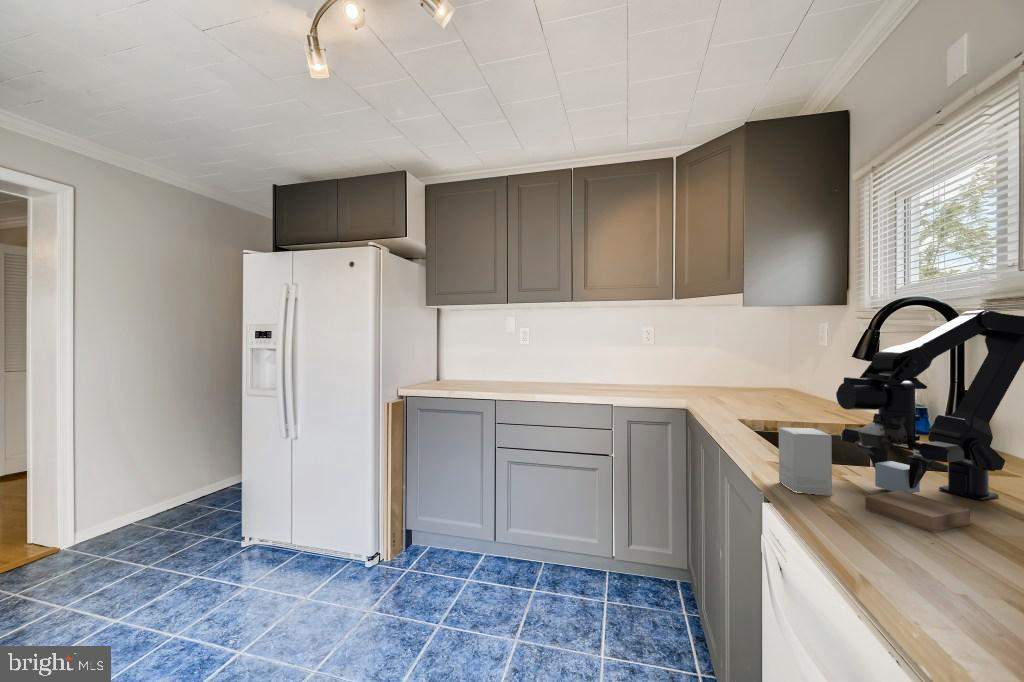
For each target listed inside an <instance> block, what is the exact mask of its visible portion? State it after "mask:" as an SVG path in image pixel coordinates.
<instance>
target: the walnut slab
mask: <svg viewBox="0 0 1024 682" xmlns="http://www.w3.org/2000/svg"><path fill="white" fill-rule="evenodd" d="M864 497H865V500H864V502H865V510H866V511H870V512H872V513H876V514H877V515H881V516H884V517H887V518H890V519H893V520H896V521H899V522H902V523H904V524H907V525H910V526H912V527H916V528H919V529H922V530H924V531H928V532H931V533H936V532H941V531H944V530H945V531H946V530H949V529H955V528H959V527H964V526H968V525H971V510H970V509H969V508H964V507H961V506H958V505H954V504H951V503H948V502H944V501H941V500H936V499H934V498H933V499H932V498H929V497H926V496H923V495H919V494H916V493H909V492H906V491H902V490H899V491H888V492H882V493H875V494H868V495H865V496H864Z"/></svg>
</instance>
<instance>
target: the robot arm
mask: <svg viewBox="0 0 1024 682" xmlns="http://www.w3.org/2000/svg"><path fill="white" fill-rule="evenodd" d="M976 336H981V337H985V338H984V343H985V345H986V346H985V347H986V349H987V355H986V356H985V358H984V359H983V362H982V364H980V367H979V369H978V371H977V372H976V374H975V375H974V378H973V380H972V381H971V383H970V385H969V387H968V388H967V390H966V392H965V394H964V396H963V398H962V399H961V401H960V403H959V405H958V407H957V408H956V410H955V411H954V412H953V413H951V414H950V415H942V414H938V415H937V416H935V418H934V421H933V423H932V426H931V427H930V428H929V429H927V432H929V434H928V441H927V442H919V441H921V436H920V435H918V434H916V433H917V432H916V431H917V429H916V427H917V425H916V424H917V423H916V422H919V421H920V420H921V417H920V415H916V390H927V389H928V386H927V385H926V384H925V383H923V382H922V381H920V380H919V378H917V377H919V375H921V374H923V372H925V371H926V370H927V369H929V368H930V366H931V364H932V362H933V360H934V359H936V358H937V357H938V356H940V355H942V354H944V353H946V352H948V351H950V350H951V349H954V348H955V347H957V346H959V345H961V344H963V343H965V342H967V341H968V340H970V339H973V338H974V337H976ZM1023 363H1024V315H1018V314H1009V313H1001V312H997V311H994V310H987V309H985V310H984V309H981V310H980V309H979V310H969V311H964V312H962V313H960V314H959V315H958V316H957V317H955V318H953V319H952V320H950V321H948V322H947V323H945V324H942V325H941V326H939V327H937V328H935V329H934V330H931V331H929V332H928V333H926V334H924V335H922V336H920V337H919V338H917V339H915V340H913V341H911V342H907V343H904V344H900V345H899V344H898V345H895V346H891V347H887V348H885V349H883V350H879V351H878V352H876V353H875V354H874V355H873V356H872V361H871V362H870V364H869V365H868V366H867V368H866V369H865V370H864V371H863V373H862V374H861V375H860V377H859V378H858V377H849V376H848V377H843V382H842V383H841V384H840V385H839V386H838V388H837V391H836V393H835V396H836V400H837V403H838V405H839V406H840V407H841V408H842V409H844V410H847V411H848V410H850V411H851V410H852V411H853V410H856V411H858V410H859V411H860V410H861V411H862V410H865V411H867V410H868V411H869V410H871V411H872V410H873V411H875V410H877V411H878V413H877V412H875V413H874V414H873V418H872V419H873V420H872V422H871V423H867V424H865V425H864V426H863V427H856V426H855V427H847V428H844V429H843V430H842V431H841V434H840V438H841V441H843V442H845V443H846V442H847V443H849V444H850V443H851V444H856V447H857V448H858V449H860V450H862V451H864V452H865V453H866V455H868V458H869V459H870V461H871V463H872V466H873V467H874V469H875V463H879V462H887V461H889V460H888V458H889V449H890V448H891V447H893V448H898V449H901V450H907V451H908V450H909V451H912V455H906V456H905V457H906V459H907V461H908V463H909V465H910V469H909V485H910V488H912V489H914V488H916V486H917V485H918V483H919V482H920V483H921V480H922V479H923V477H924V476H925V474H926V472H927V471H928V470H929V469H930V467H931V466H932V465H933V464H934V463H935V462H940V463H947V485H944V486H938V490H939V491H943V492H947V493H951V494H955V495H958V496H963V497H966V498H970V499H972V500H973V499H974V500H978V501H983V500H989V499H993V498H994V499H995V498H998V497H999V494H998V493H995V492H991V491H990V472H996V471H1002V470H1003V468H1004V466H1005V463H1006V460H1005V459H1004V458H1003V456H1001V455H1000V454H999V453H998V452H997V451H996V450H995V449H993V447H992V446H991V445H992V442H993V440H994V436H993V432H992V429H991V425H990V423H991V420H992V418H993V417H994V414H995V413H996V411H997V409H998V407H999V405H1000V404H1001V402H1002V400H1003V398H1004V397H1005V395H1006V394H1007V391H1008V390H1009V388H1010V386H1011V384H1012V382H1013V381H1014V379H1015V377H1016V375H1017V374H1018V372H1019V371H1020V368H1021V366H1023V365H1022V364H1023ZM857 443H858V444H857Z"/></svg>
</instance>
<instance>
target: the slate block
mask: <svg viewBox="0 0 1024 682" xmlns="http://www.w3.org/2000/svg"><path fill="white" fill-rule="evenodd" d="M909 469H910V464H906V463H901V462H897V461H893V460H888V461H887V462H879V463H875V468H874V471H875V472H874V475H875V477H874V483H875V484H874V485H875V486H874V487H876V488H880V489H884V490H887V491H888V492H893V491H899V490H902V491H906V492H909V493H913V494H916V493H920V491H921V490H920V489H921V488H920V487H921V481H920V482H919V483H918V485H917V486H916V488H914V489H912V488H910V485H909Z"/></svg>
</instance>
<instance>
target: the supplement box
mask: <svg viewBox="0 0 1024 682" xmlns="http://www.w3.org/2000/svg"><path fill="white" fill-rule="evenodd" d="M832 442H833V441H832V434H829V433H826V432H824V431H821V430H819V429H816V428H814V427H813V428H809V427H806V428H805V427H778V482H779V481H780V482H782V483H783V484H784V485H786V486H787V487H789V488H790V489H792V490H793V491H797V492H802V493H808V494H807V495H811V494H815V495H814V496H829V497H831V496H833V472H832V471H833V458H832V457H833V455H832V451H833V450H832V449H833V448H832V445H833V444H832ZM784 485H783V486H784Z"/></svg>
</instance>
